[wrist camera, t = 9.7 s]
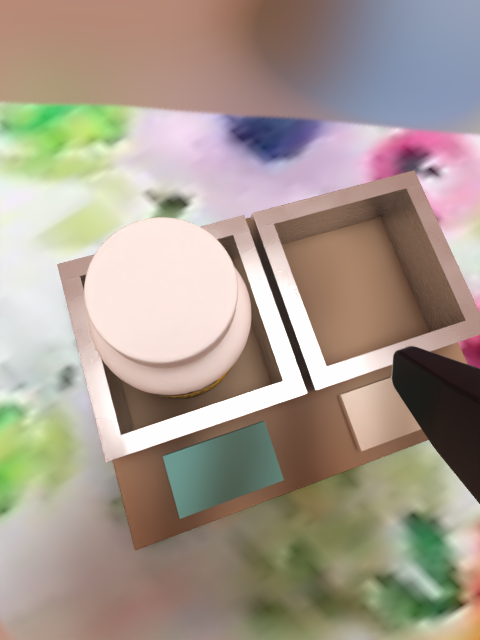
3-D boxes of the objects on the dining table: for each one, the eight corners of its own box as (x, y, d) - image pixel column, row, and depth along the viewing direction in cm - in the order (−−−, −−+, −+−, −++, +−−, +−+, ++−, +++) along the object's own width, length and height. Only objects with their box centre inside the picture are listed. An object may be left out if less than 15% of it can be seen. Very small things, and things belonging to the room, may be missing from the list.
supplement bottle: (165, 421, 19) (118, 436, 9) (108, 328, 19) (11, 252, 10) (257, 360, 20) (304, 316, 10) (200, 274, 20) (193, 157, 11)
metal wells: (122, 453, 18) (105, 461, 15) (79, 285, 20) (57, 264, 17) (448, 342, 21) (488, 331, 18) (387, 201, 22) (414, 170, 19)
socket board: (139, 541, 18) (133, 554, 17) (72, 274, 21) (60, 263, 19) (474, 415, 21) (497, 416, 19) (378, 192, 24) (390, 176, 22)
